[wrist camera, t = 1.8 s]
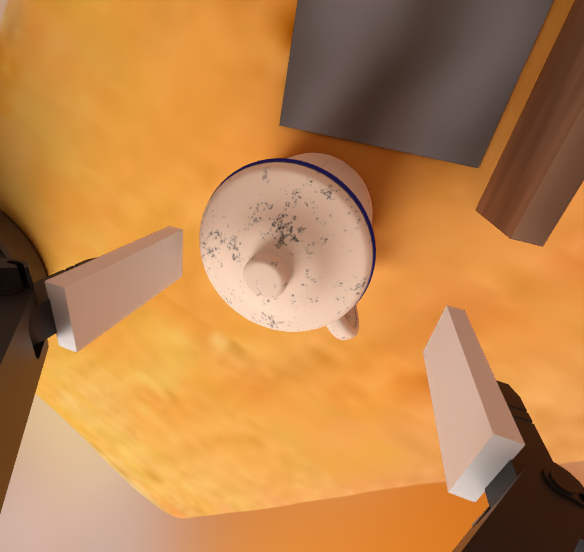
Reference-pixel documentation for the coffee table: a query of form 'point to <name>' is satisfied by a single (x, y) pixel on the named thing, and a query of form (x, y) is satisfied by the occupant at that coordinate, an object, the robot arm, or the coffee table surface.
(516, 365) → the coffee table surface
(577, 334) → the coffee table surface
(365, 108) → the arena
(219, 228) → the teacup with lid
